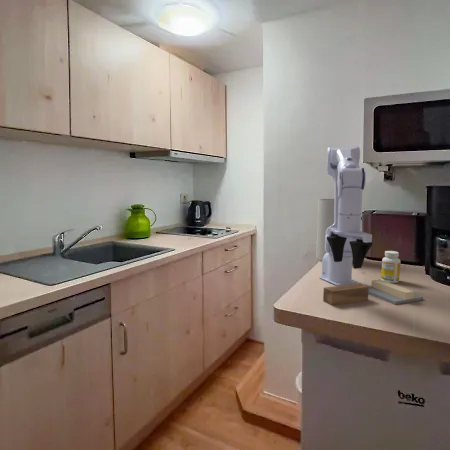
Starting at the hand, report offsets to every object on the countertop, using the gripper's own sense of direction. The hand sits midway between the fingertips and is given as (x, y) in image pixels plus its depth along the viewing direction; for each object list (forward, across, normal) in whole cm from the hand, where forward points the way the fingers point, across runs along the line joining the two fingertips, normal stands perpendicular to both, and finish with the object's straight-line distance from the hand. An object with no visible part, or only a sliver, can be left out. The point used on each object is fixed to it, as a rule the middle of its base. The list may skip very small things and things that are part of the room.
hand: (347, 264), depth 90 cm
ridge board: (+10, +1, +15) cm, 18 cm away
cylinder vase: (+10, -42, +28) cm, 51 cm away
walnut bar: (+10, 0, 0) cm, 10 cm away
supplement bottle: (+10, -10, +26) cm, 30 cm away
